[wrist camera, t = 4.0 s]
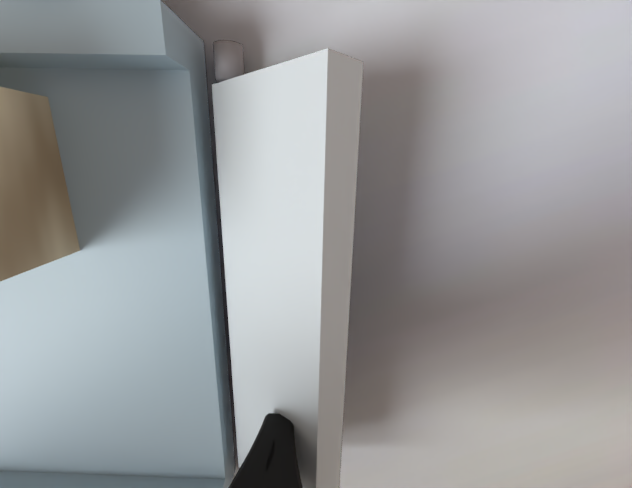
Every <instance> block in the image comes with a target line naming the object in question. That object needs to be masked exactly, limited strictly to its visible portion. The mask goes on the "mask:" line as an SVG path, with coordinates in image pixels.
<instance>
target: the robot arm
mask: <svg viewBox="0 0 632 488" xmlns="http://www.w3.org/2000/svg"><path fill="white" fill-rule="evenodd" d="M228 488H303V486H302V482H301V477H300V472H299V466H298V461H297V455H296V448H295V438H294V425H293V424H292V422H291V421H290V420H289V419H287V418H286V417H284V416H282V415H281V414H279V413H268V414H267V415H266V416H265V418H264V421H263V423H262V426H261V428H260V430H259V432H258V435H257V437H256V439H255V441H254V443H253V445H252V447H251V449H250V451H249V453H248V454H247V456H246V458H245V460H244V462H243V463H242V465H241V467H240V469H239V471H238V473H237V474H236V476H235V478H234V479H233V481H232V483H231V484H230V486H229V487H228Z"/></svg>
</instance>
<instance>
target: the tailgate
mask: <svg viewBox="0 0 632 488" xmlns="http://www.w3.org/2000/svg"><path fill="white" fill-rule="evenodd" d="M362 79H363V61H360V60H358V59H355V58H352V57H350V56H347V55H345V54H342V53H339V52H337V51H334V50H332V49H329V48H327V49H324V50H320V51H317V52H314V53H311V54H308V55H305V56H301V57H298V58H295V59H292V60H289V61H285V62H282V63H279V64H276V65H273V66H270V67H266V68H263V69H260V70H257V71H254V72H250V73H247V74H244V75H241V76H238V77H234V78H231V79H228V80H225V81H222V82H219V83H215V84H212V97H213V111H214V125H215V139H216V154H217V168H218V182H219V196H220V211H221V225H222V239H223V253H224V268H225V282H226V296H227V310H228V325H229V339H230V353H231V367H232V382H233V396H234V410H235V424H236V439H237V453H238V466H239V468H240V467H241V465H242V463H243V462H244V460H245V458H246V456H247V454H248V453H249V451H250V449H251V447H252V445H253V443H254V441H255V439H256V437H257V435H258V432H259V430H260V428H261V426H262V423H263V421H264V418H265V416H266V415H267V414H268V413H279V414H281V415H282V416H284V417H286V418H287V419H289V420H290V421H291V422H292V424H293V425H294V438H295V448H296V455H297V461H298V466H299V472H300V477H301V482H302V486H303V488H339V485H340V468H341V450H342V432H343V415H344V397H345V379H346V362H347V344H348V326H349V309H350V291H351V273H352V256H353V238H354V220H355V203H356V185H357V168H358V150H359V132H360V115H361V97H362Z"/></svg>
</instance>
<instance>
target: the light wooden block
mask: <svg viewBox="0 0 632 488" xmlns="http://www.w3.org/2000/svg"><path fill="white" fill-rule="evenodd" d="M78 251H80V247H79V242H78V238H77V233H76V228H75V223H74V219H73V214H72V209H71V204H70V200H69V195H68V190H67V185H66V181H65V176H64V171H63V166H62V162H61V157H60V152H59V147H58V143H57V138H56V133H55V128H54V124H53V119H52V114H51V109H50V105H49V100H48V97H46V96H41V95H37V94H32V93H27V92H23V91H18V90H14V89H9V88H4V87H0V281H3V280H6V279H8V278H11V277H13V276H16V275H18V274H21V273H24V272H26V271H29V270H31V269H34V268H37V267H39V266H42V265H44V264H47V263H50V262H52V261H55V260H57V259H60V258H62V257H65V256H68V255H70V254H73V253H75V252H78Z"/></svg>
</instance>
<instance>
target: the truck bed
mask: <svg viewBox="0 0 632 488" xmlns="http://www.w3.org/2000/svg"><path fill="white" fill-rule="evenodd" d="M213 49H214V64H215V79H216V81H218V82H222V81H225V80H228V79H231V78H234V77H238V76H241V75H244V62H243V46H242V45H241V44H240V43H237V42H234V41H229V40H218V41H215V42H214V43H213ZM0 87H4V88H9V89H14V90H18V91H23V92H27V93H32V94H37V95H41V96H46V97H48V100H49V105H50V109H51V114H52V119H53V124H54V128H55V133H56V138H57V143H58V147H59V152H60V157H61V162H62V166H63V171H64V176H65V181H66V185H67V190H68V195H69V200H70V204H71V209H72V214H73V219H74V223H75V228H76V233H77V238H78V242H79V247H80V251H78V252H75V253H73V254H70V255H68V256H65V257H62V258H60V259H57V260H55V261H52V262H50V263H47V264H44V265H42V266H39V267H37V268H34V269H31V270H29V271H26V272H24V273H21V274H18V275H16V276H13V277H11V278H8V279H6V280H3V281H0V488H228V487H229V486H230V484H231V482H232V479H233V475H234V472H235V456H234V443H233V429H232V416H231V403H230V389H229V376H228V362H227V349H226V335H225V322H224V308H223V295H222V281H221V268H220V254H219V241H218V227H217V214H216V200H215V187H214V173H213V160H212V146H211V133H210V119H209V106H208V92H207V79H206V65H205V52H204V41H203V40H202V39H200V38H199V37H198V36H197V35H196V34H195V33H194V32H193V31H192V30H191V29H190V28H189V27H188V26H187V25H186V24H185V23H184V22H183V21H182V20H181V19H180V18H179V17H178V16H177V15H176V14H175V13H174V12H173V11H172V10H170V9H169V8H168V7H167V6H166V5H165V4H164V3H163V2H162V1H161V0H0Z"/></svg>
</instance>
